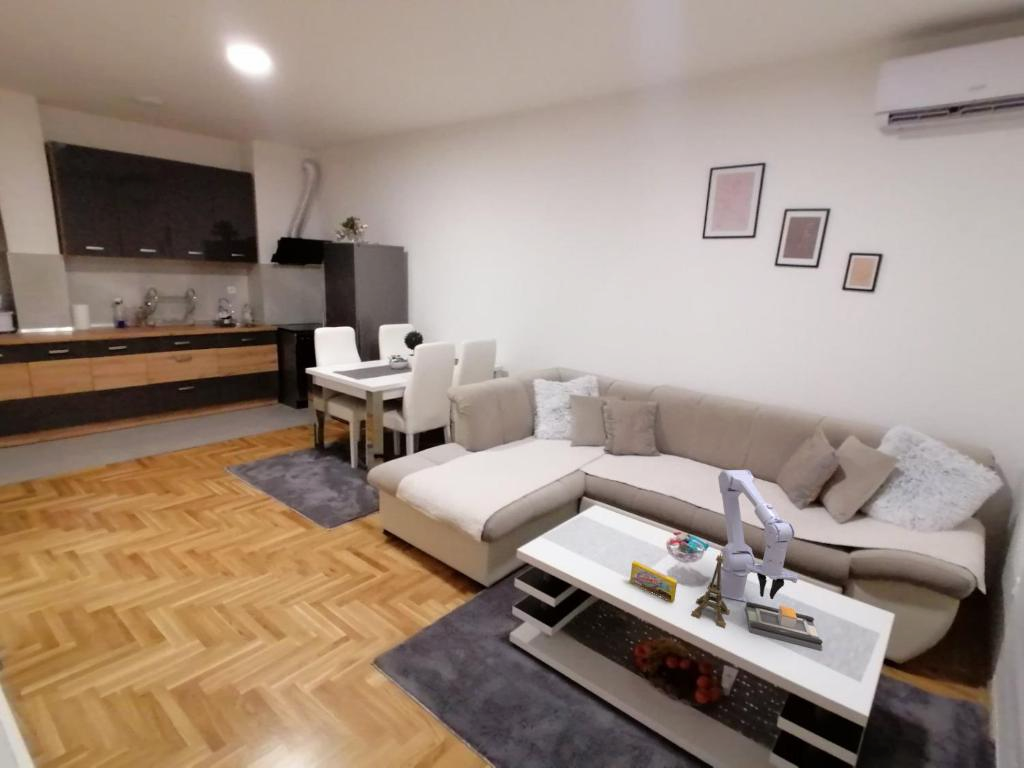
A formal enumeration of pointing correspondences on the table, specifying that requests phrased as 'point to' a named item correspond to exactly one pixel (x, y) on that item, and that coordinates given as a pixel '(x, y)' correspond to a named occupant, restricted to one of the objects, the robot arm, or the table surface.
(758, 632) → the panel
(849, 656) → the table surface
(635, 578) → the candy box
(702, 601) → the eiffel tower
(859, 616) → the table surface
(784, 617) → the orange-faced white block
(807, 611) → the table surface
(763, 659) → the table surface
